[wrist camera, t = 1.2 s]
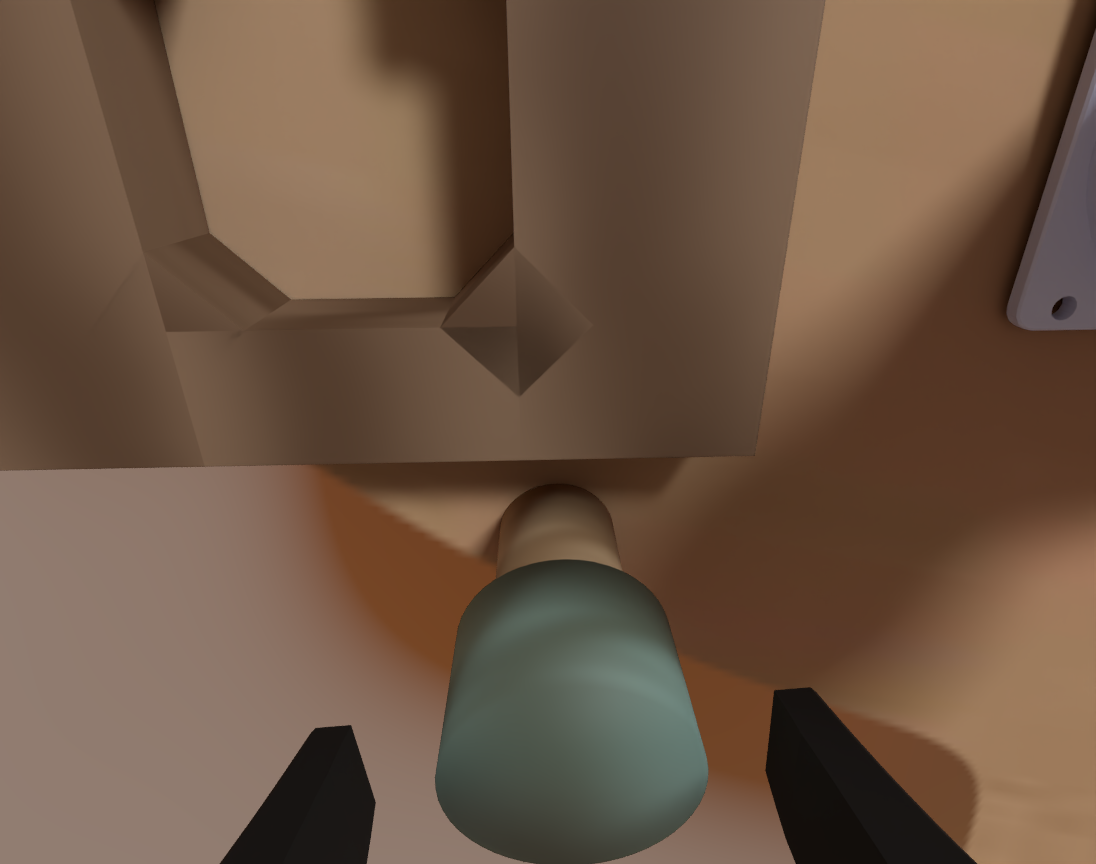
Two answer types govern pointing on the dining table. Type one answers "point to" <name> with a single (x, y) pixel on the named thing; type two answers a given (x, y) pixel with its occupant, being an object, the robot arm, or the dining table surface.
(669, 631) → the peg
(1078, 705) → the dining table surface
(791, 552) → the dining table surface
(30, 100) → the keyhole board
